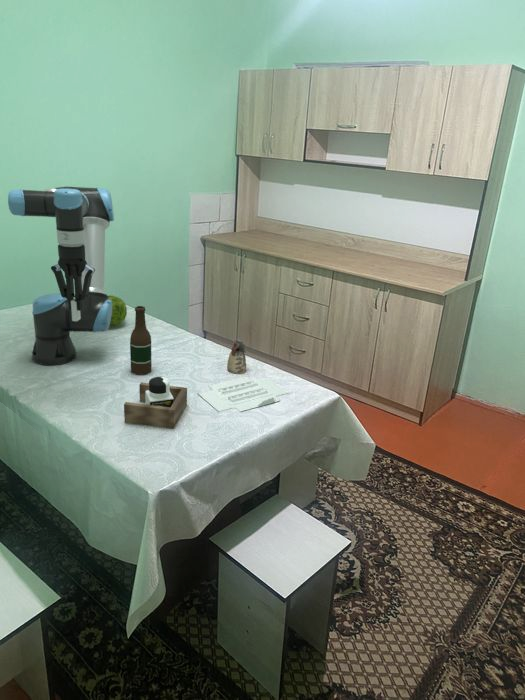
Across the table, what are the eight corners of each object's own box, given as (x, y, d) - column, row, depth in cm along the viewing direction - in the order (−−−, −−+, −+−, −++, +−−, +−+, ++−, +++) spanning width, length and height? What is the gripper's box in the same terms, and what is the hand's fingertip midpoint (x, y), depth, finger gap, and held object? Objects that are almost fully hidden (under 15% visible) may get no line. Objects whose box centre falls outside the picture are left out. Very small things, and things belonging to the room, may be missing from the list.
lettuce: (111, 322, 247) (112, 293, 245) (130, 327, 228) (131, 297, 227) (80, 321, 239) (81, 292, 237) (97, 327, 220) (98, 295, 218)
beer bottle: (147, 376, 187) (146, 311, 177) (126, 373, 188) (124, 308, 179) (155, 368, 194) (155, 305, 185) (135, 365, 195) (134, 302, 186)
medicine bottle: (150, 422, 159) (149, 386, 154) (145, 410, 165) (144, 375, 160) (173, 418, 161) (174, 383, 157) (168, 407, 167) (168, 373, 163)
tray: (192, 392, 180) (193, 382, 178) (259, 378, 196) (260, 369, 194) (224, 419, 165) (225, 408, 163) (294, 401, 181) (295, 391, 179)
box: (124, 422, 157) (123, 404, 155) (141, 399, 171) (141, 382, 169) (174, 428, 156) (174, 410, 154) (186, 404, 170) (187, 387, 168)
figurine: (250, 370, 197) (252, 340, 193) (236, 375, 192) (238, 345, 188) (236, 364, 202) (238, 334, 197) (223, 369, 197) (224, 339, 192)
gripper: (43, 244, 153) (50, 321, 162) (87, 248, 152) (91, 326, 161) (55, 239, 160) (61, 313, 169) (97, 243, 159) (101, 318, 168)
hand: (76, 319), depth 165 cm, fingers closed
